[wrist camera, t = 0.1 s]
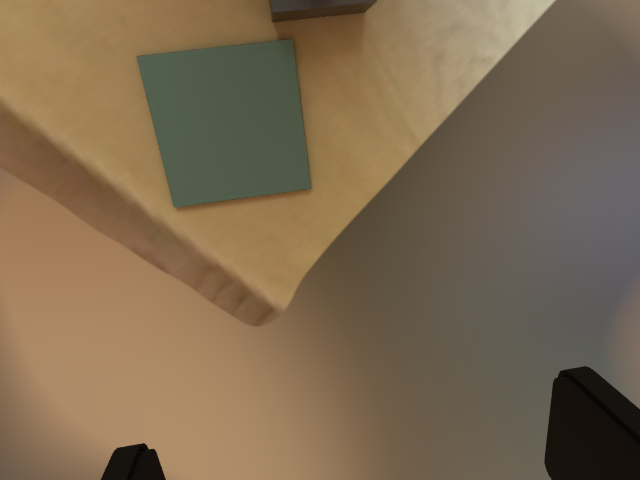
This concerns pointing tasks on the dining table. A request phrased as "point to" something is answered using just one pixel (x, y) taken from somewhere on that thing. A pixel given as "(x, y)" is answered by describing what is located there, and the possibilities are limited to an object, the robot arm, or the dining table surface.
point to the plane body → (316, 8)
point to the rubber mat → (228, 121)
